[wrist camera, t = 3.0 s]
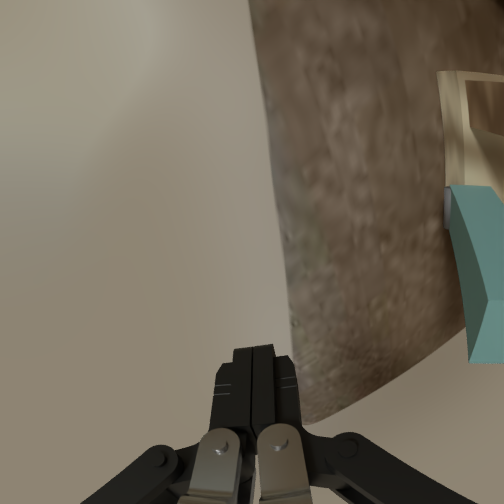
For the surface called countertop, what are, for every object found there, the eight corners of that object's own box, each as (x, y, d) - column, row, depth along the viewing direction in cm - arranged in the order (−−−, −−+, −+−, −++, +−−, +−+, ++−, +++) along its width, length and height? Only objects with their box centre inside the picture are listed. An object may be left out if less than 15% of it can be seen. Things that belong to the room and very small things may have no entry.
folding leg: (443, 183, 20) (477, 300, 9) (490, 185, 18) (558, 301, 7) (442, 226, 22) (458, 362, 11) (486, 228, 20) (531, 362, 9)
